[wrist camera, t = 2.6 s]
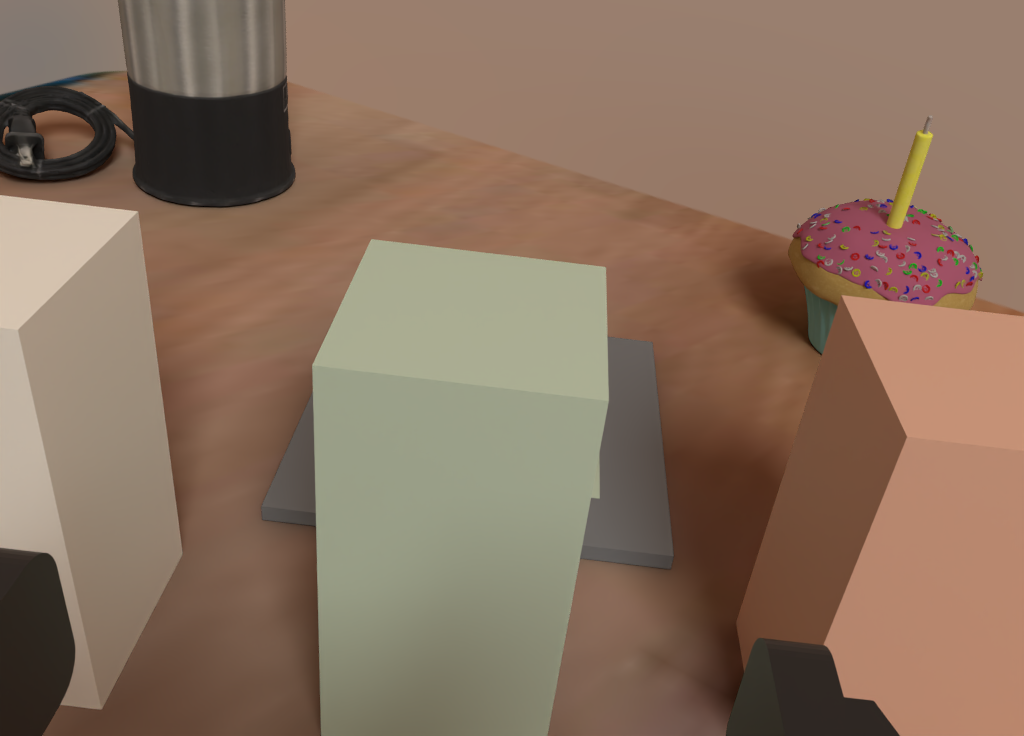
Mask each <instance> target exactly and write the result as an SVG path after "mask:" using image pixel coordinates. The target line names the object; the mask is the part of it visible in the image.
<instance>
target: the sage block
mask: <svg viewBox="0 0 1024 736" xmlns="http://www.w3.org/2000/svg"><path fill="white" fill-rule="evenodd" d="M312 369H313V412H314V455H315V497H316V540H317V583H318V625H319V668H320V711H321V736H547V735H548V730H549V724H550V719H551V713H552V708H553V702H554V697H555V692H556V686H557V681H558V675H559V670H560V664H561V659H562V653H563V648H564V642H565V637H566V632H567V626H568V621H569V615H570V610H571V604H572V599H573V593H574V588H575V583H576V577H577V572H578V566H579V561H580V555H581V550H582V544H583V539H584V534H585V528H586V523H587V517H588V512H589V506H590V501H591V495H592V490H593V484H594V479H595V474H596V468H597V463H598V457H599V452H600V446H601V441H602V435H603V430H604V425H605V419H606V414H607V408H608V403H609V386H608V342H607V297H606V267H600V266H592V265H584V264H575V263H567V262H558V261H550V260H541V259H533V258H525V257H516V256H508V255H499V254H491V253H482V252H474V251H466V250H457V249H449V248H440V247H432V246H424V245H415V244H407V243H398V242H390V241H381V240H373V239H371V241H370V243H369V246H368V248H367V250H366V252H365V254H364V256H363V258H362V261H361V263H360V265H359V267H358V269H357V271H356V273H355V275H354V278H353V280H352V282H351V284H350V286H349V288H348V290H347V293H346V295H345V297H344V299H343V301H342V303H341V305H340V308H339V310H338V312H337V314H336V316H335V318H334V320H333V322H332V325H331V327H330V329H329V331H328V333H327V335H326V337H325V340H324V342H323V344H322V346H321V348H320V350H319V352H318V354H317V357H316V359H315V361H314V363H313V365H312Z"/></svg>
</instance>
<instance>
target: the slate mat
mask: <svg viewBox="0 0 1024 736" xmlns="http://www.w3.org/2000/svg"><path fill="white" fill-rule="evenodd" d="M607 342H608V386H609V403H608V408H607V414H606V419H605V425H604V430H603V435H602V441H601V446H600V452H599V457H598V463H597V468H596V474H595V479H594V484H593V490H592V495H591V501H590V506H589V512H588V517H587V523H586V528H585V534H584V539H583V544H582V550H581V555H580V558H582V559H590V560H599V561H607V562H615V563H623V564H632V565H640V566H648V567H656V568H664V569H671V566H672V562H673V558H674V552H673V542H672V532H671V522H670V512H669V502H668V492H667V482H666V472H665V462H664V452H663V442H662V432H661V422H660V412H659V402H658V392H657V382H656V372H655V362H654V352H653V342H647V341H639V340H631V339H622V338H614V337H607ZM261 509H262V520H270V521H278V522H286V523H294V524H303V525H311V526H316V497H315V455H314V412H313V392H312V394H311V397H310V399H309V401H308V403H307V406H306V408H305V410H304V412H303V414H302V417H301V419H300V421H299V423H298V426H297V428H296V430H295V432H294V435H293V437H292V439H291V441H290V443H289V446H288V448H287V450H286V452H285V455H284V457H283V459H282V461H281V464H280V466H279V468H278V470H277V472H276V475H275V477H274V479H273V481H272V484H271V486H270V488H269V490H268V493H267V495H266V497H265V499H264V501H263V504H262V506H261Z"/></svg>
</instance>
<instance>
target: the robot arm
mask: <svg viewBox="0 0 1024 736" xmlns="http://www.w3.org/2000/svg"><path fill="white" fill-rule="evenodd" d="M74 663H75V641H74V637H73V632H72V628H71V624H70V620H69V615H68V611H67V607H66V603H65V598H64V594H63V590H62V586H61V581H60V577H59V573H58V568H57V565H56V562H55V560H54V558H53V557H52V556H51V555H50V554H48V553H42V552H34V551H25V550H16V549H8V548H0V736H42V735H43V733H44V732H45V730H46V728H47V726H48V725H49V723H50V721H51V719H52V718H53V716H54V714H55V712H56V711H57V709H58V707H59V705H60V704H61V702H62V700H63V698H64V696H65V694H66V692H67V689H68V687H69V684H70V681H71V677H72V674H73V669H74ZM726 736H900V735H899V734H898V732H897V731H896V730H895V728H894V727H893V726H892V724H891V723H890V722H889V720H888V719H887V718H886V716H885V715H884V714H883V712H882V711H881V710H880V708H879V707H878V706H877V704H876V703H875V702H874V701H873V700H864V699H856V698H847V697H844V696H843V692H842V688H841V685H840V681H839V677H838V674H837V670H836V666H835V663H834V659H833V656H832V654H831V652H830V650H829V649H828V647H826V646H825V645H818V644H809V643H801V642H792V641H783V640H775V639H766V638H758V639H757V640H756V641H755V643H754V644H753V647H752V650H751V653H750V656H749V659H748V662H747V665H746V668H745V672H744V675H743V678H742V681H741V684H740V687H739V690H738V693H737V697H736V700H735V703H734V706H733V709H732V712H731V715H730V718H729V722H728V726H727V731H726Z"/></svg>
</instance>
